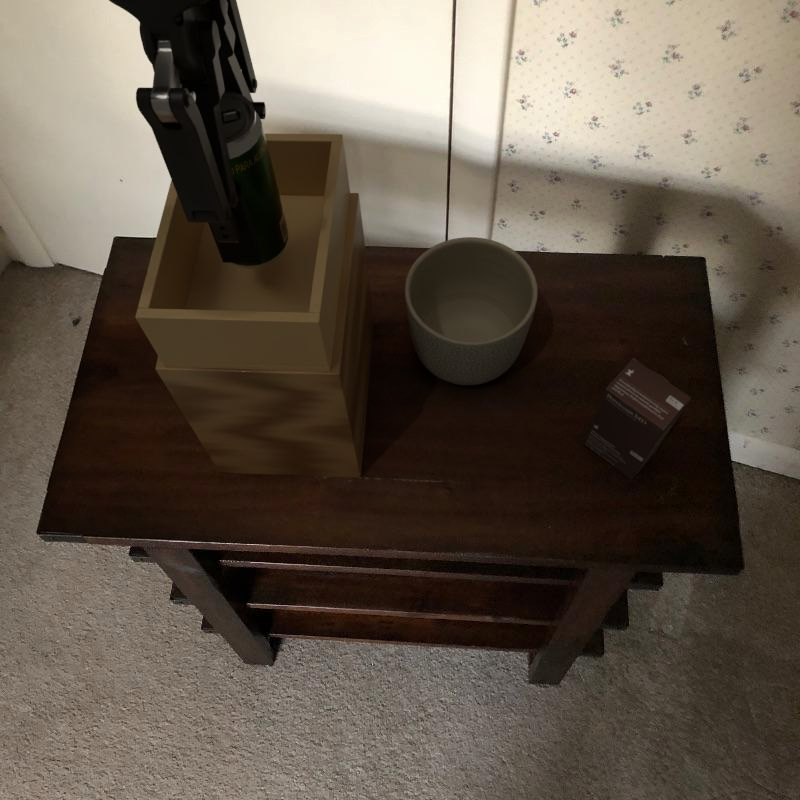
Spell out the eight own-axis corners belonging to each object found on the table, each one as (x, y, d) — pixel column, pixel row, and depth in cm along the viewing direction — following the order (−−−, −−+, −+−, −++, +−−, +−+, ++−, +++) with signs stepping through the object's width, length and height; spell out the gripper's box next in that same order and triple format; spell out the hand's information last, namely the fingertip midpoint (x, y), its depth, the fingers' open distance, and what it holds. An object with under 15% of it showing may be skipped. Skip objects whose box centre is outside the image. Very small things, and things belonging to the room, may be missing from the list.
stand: (219, 472, 75) (154, 369, 58) (246, 320, 84) (197, 189, 66) (360, 478, 74) (339, 374, 57) (373, 324, 83) (358, 192, 65)
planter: (519, 408, 77) (532, 351, 68) (399, 393, 79) (395, 335, 69) (529, 308, 83) (542, 243, 74) (416, 296, 84) (415, 230, 75)
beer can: (283, 210, 60) (252, 81, 49) (295, 263, 57) (265, 139, 46) (215, 225, 59) (168, 97, 49) (224, 279, 57) (177, 156, 46)
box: (579, 446, 75) (603, 387, 65) (606, 416, 77) (635, 353, 66) (630, 485, 73) (664, 430, 62) (657, 453, 75) (695, 394, 64)
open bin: (164, 367, 58) (134, 317, 52) (205, 191, 66) (183, 131, 60) (330, 372, 57) (318, 322, 51) (350, 194, 65) (342, 133, 59)
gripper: (187, 18, 31) (283, 332, 52) (252, -208, 40) (312, 137, 60) (9, 18, 32) (174, 329, 52) (112, -206, 40) (219, 136, 61)
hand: (248, 225), depth 56 cm, fingers closed on beer can, 5 cm apart
